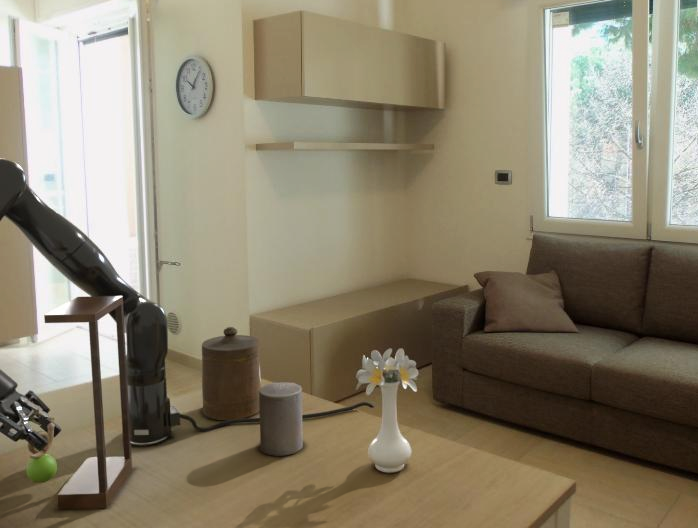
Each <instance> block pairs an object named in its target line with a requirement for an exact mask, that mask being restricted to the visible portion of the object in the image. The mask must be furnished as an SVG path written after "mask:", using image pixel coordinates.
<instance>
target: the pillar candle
mask: <svg viewBox="0 0 698 528" xmlns="http://www.w3.org/2000/svg"><path fill="white" fill-rule="evenodd" d="M259 410H260V411H259V412H258V413H259V418H260V422H259V434H260V435H259V438H260V441H259V442H260V447H259V449H260V451H261V452H262V453H263V454H266V455H268V456H275V457H283V456H289V455H293V454H296V453H298V452H299V451H301V450H302V449H303V446H304V445H303V444H304V442H303V419H302V415H303V387H302V386H301V385H299V384H296V383H295V382H285V381H284V382H283V381H282V382H272V383H268V384H266V385H262V386H261V388H260V390H259Z"/></svg>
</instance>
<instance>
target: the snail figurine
mask: <svg viewBox="0 0 698 528" xmlns="http://www.w3.org/2000/svg"><path fill="white" fill-rule="evenodd" d="M49 419H51V420H52V421H55V419H56V417H55V416H53V417H52V416H50V417H49ZM54 423H55V422H54ZM54 423H50V424H48V426H47V428H48V433H47V432H45V431H44V430H39V431H36V432H37V433H39V434H40V435H41V436H42V437H43V438H45V439H46V440H47V441H48V444H47V445H46V446H45V447H44V448H43V449H42V450H41V451H38V450H37V449H36V448H34V447H33V446H32V445H31V444H30V443H28V442H27V449H28V452H30V453H31V454H30V455H29V458H31V459H30V460H29V461H28V463H27V465H26V470H25V472H26V475H27V478H28V479H29V480H30V481H32V483H37V484H43V483H46V482H48V481H50V480H52V479H53V477H54V476H55V475H56V473H57V470H58V464H57V463H58V462H57V460H56V459H55V457H53V456H52V455H50V454H47V453H48V452H49V450H51V448H52V446H53V442H54V438H55V437H54V428H55V425H54Z"/></svg>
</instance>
